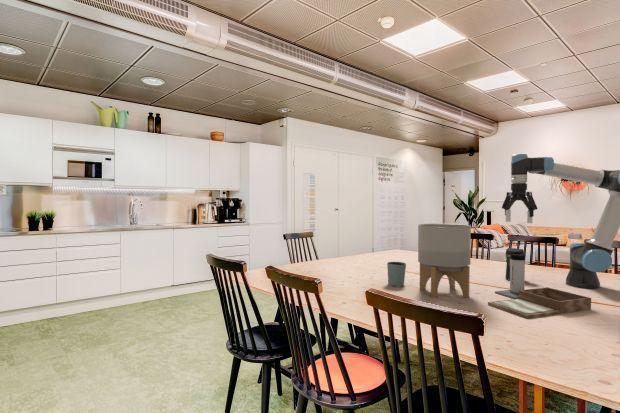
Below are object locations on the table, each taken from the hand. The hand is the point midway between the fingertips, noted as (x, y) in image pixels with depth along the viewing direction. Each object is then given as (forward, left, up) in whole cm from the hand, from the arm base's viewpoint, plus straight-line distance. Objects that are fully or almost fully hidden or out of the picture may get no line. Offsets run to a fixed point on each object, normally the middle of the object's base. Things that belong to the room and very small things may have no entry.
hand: (518, 222), depth 198 cm
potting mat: (+15, +13, -35) cm, 40 cm away
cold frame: (+24, +32, -35) cm, 53 cm away
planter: (+47, -2, -35) cm, 59 cm away
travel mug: (+15, +13, -34) cm, 39 cm away
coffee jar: (-11, -12, -35) cm, 39 cm away
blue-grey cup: (+60, -25, -35) cm, 74 cm away
